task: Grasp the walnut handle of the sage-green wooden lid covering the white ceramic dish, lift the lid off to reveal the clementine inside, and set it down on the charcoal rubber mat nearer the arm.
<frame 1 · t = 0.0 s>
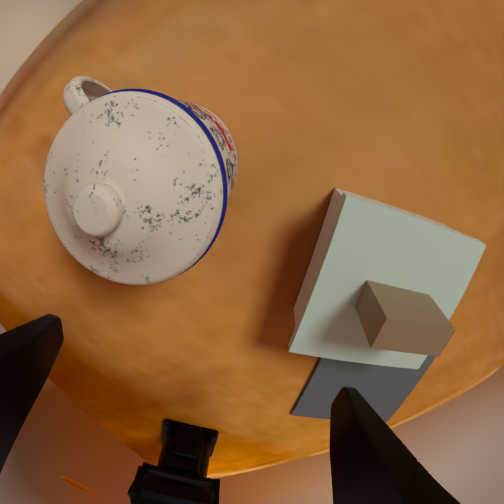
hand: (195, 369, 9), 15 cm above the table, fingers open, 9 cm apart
dish: (373, 267, 23), on the table
teacup with lid: (164, 146, 21), on the table
lid: (390, 294, 20), point 4 cm above the table, touching dish
mat: (366, 382, 28), on the table
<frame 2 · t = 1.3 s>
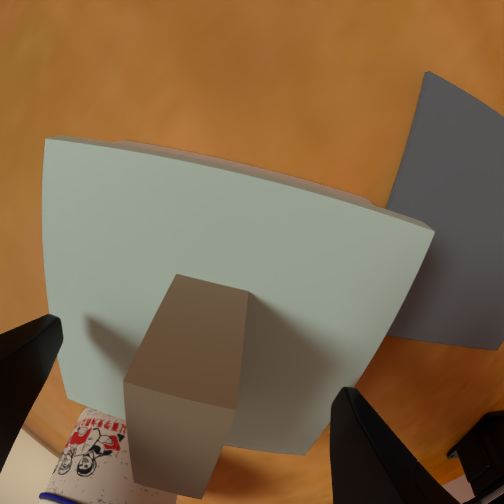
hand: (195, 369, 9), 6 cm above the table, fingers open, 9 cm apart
dish: (218, 276, 14), on the table
teacup with lid: (122, 437, 21), on the table
lid: (202, 333, 10), point 4 cm above the table, touching dish
mat: (482, 241, 13), on the table
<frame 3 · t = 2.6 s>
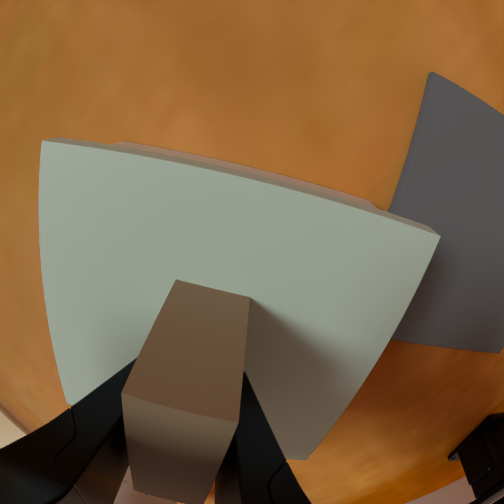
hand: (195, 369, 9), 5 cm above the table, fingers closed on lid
dish: (218, 280, 14), on the table
teacup with lid: (122, 440, 20), on the table
lid: (203, 339, 10), point 4 cm above the table, touching dish, gripper
mat: (485, 243, 12), on the table
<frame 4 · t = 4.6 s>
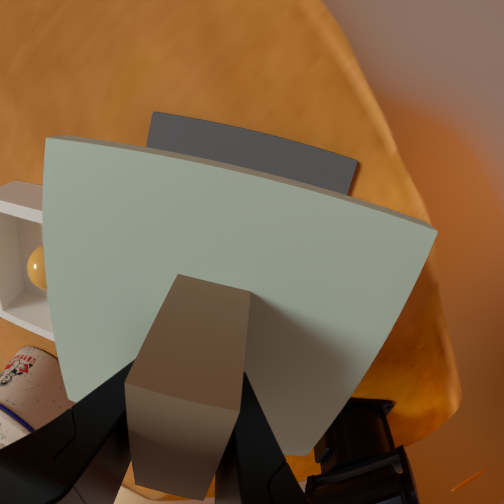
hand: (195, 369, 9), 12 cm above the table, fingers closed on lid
dish: (63, 254, 21), on the table
teacup with lid: (45, 378, 28), on the table
lid: (204, 334, 10), point 10 cm above the table, touching gripper
mat: (232, 228, 19), on the table
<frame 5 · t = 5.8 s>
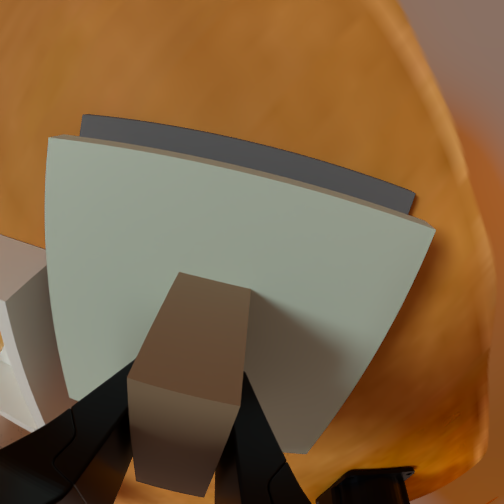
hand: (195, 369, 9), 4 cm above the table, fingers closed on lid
dish: (1, 310, 14), on the table
teacup with lid: (14, 427, 20), on the table
lid: (204, 332, 10), point 2 cm above the table, touching gripper
mat: (213, 295, 12), on the table
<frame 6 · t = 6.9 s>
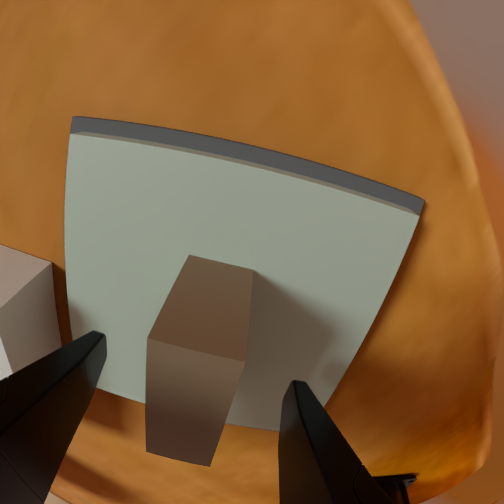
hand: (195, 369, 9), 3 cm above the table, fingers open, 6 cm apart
lid: (210, 312, 11), resting on mat
mat: (211, 307, 12), on the table
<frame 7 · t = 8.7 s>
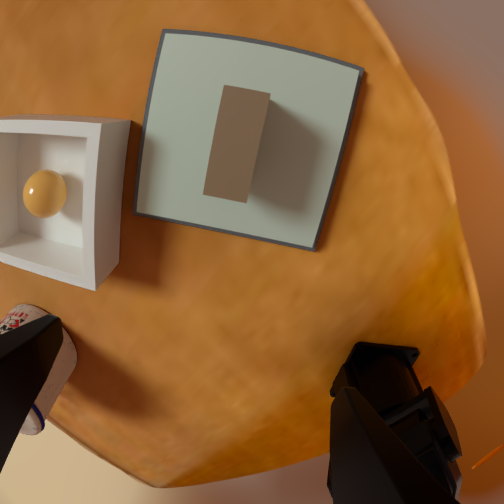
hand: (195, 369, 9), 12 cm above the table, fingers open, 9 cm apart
dish: (62, 185, 19), on the table
teacup with lid: (39, 342, 26), on the table
lid: (242, 136, 17), resting on mat
mat: (241, 136, 18), on the table
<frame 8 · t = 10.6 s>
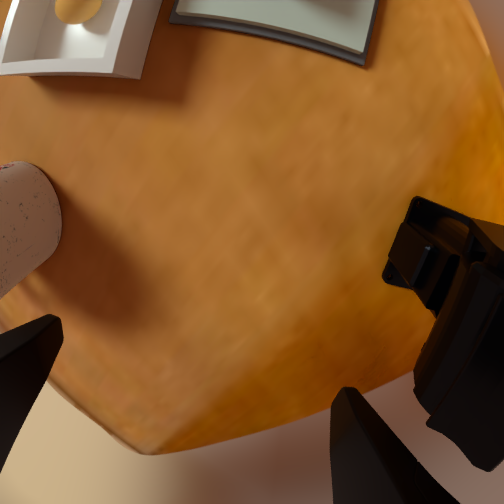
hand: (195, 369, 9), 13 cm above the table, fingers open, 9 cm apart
dish: (94, 9, 14), on the table
teacup with lid: (19, 221, 21), on the table
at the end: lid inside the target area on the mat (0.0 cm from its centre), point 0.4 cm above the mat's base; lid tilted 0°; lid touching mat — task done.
